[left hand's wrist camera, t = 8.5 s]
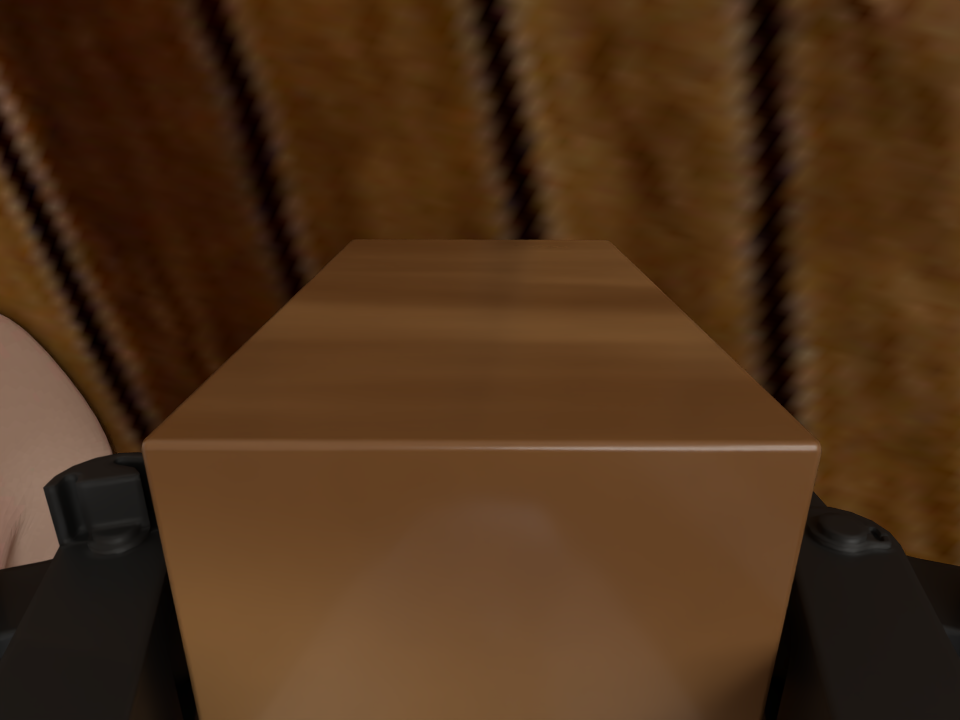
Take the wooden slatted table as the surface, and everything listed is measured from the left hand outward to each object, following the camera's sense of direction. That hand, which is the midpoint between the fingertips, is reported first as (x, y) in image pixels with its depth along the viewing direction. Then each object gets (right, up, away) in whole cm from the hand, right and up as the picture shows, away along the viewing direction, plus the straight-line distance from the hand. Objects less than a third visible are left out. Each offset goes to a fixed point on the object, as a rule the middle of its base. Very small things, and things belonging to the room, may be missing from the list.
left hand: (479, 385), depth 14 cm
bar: (0, -10, +4) cm, 11 cm away
